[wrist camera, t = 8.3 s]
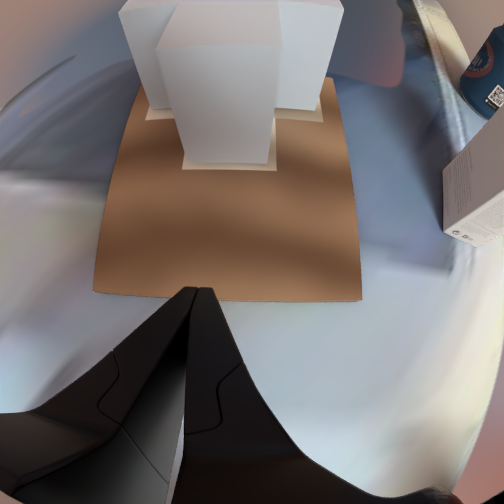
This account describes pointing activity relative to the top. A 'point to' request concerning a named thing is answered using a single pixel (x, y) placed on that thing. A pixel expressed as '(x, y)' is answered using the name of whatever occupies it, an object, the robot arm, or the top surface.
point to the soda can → (486, 77)
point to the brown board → (233, 213)
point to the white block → (230, 67)
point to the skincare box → (476, 186)
